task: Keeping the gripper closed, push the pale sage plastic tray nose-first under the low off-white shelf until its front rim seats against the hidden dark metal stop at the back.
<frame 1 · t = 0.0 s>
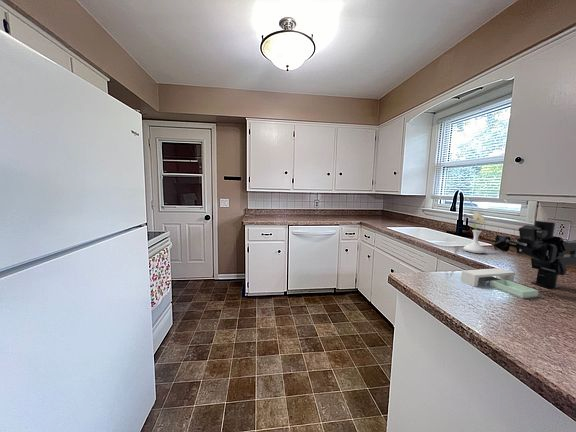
hand: (507, 248, 93), 17 cm above the countertop, tool horizontal, fingers open, 9 cm apart
tray: (512, 291, 94), on the countertop
flower in vase: (473, 252, 157), on the countertop
shelf: (487, 282, 103), on the countertop
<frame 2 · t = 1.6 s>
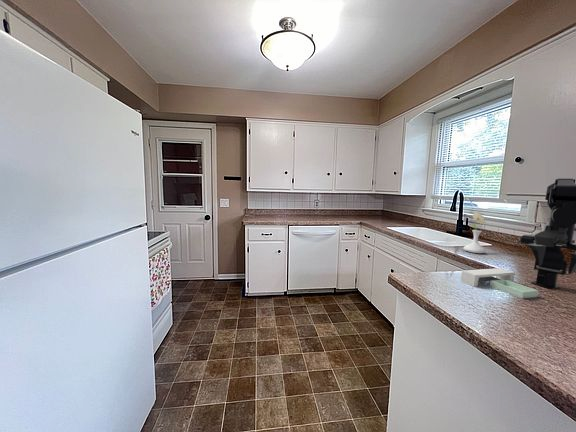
hand: (553, 269, 83), 12 cm above the countertop, tool pointing down, fingers open, 8 cm apart
nothing on the countertop moved.
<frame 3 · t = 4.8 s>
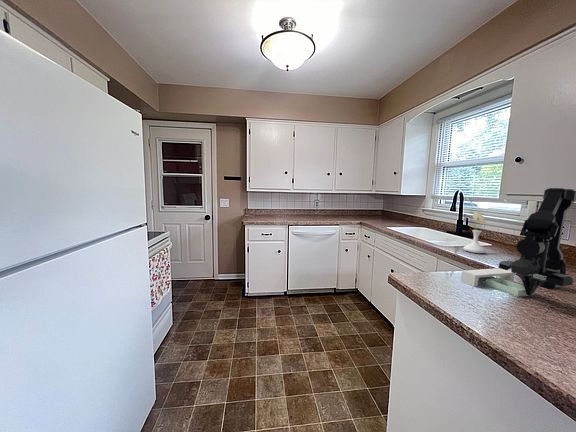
hand: (528, 295, 89), 1 cm above the countertop, tool pointing down, fingers closed
tray: (507, 289, 96), on the countertop, touching gripper
everything else where it was.
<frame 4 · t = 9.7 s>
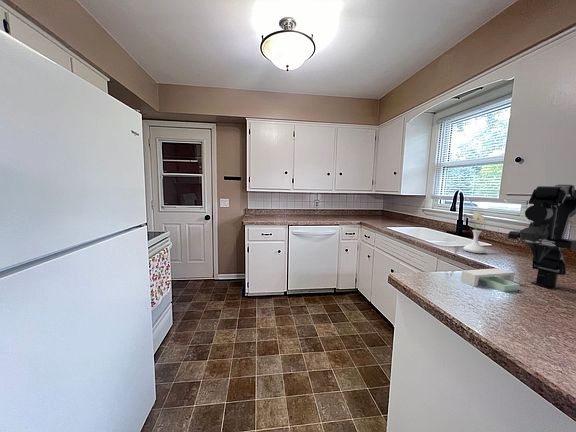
hand: (537, 261, 93), 12 cm above the countertop, tool pointing down, fingers closed
tray: (495, 285, 100), on the countertop
everything else where it was.
at the end: tray 0.2 cm from the target spot, on the countertop; tray tilted 0° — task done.
